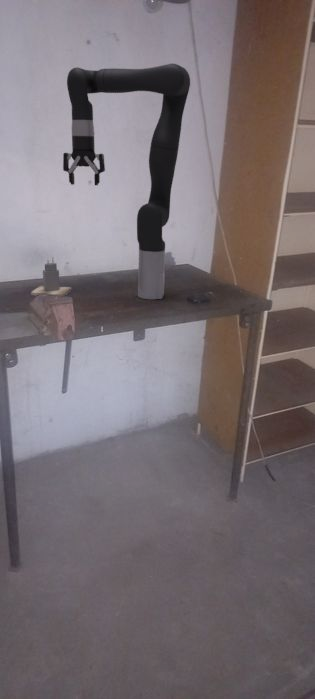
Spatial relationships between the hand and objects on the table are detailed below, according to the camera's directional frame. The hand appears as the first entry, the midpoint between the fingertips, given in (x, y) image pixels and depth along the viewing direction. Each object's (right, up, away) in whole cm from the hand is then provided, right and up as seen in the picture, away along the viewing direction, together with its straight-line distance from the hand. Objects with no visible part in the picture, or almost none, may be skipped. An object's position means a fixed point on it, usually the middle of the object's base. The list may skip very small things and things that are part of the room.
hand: (84, 184), depth 182 cm
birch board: (-13, -37, +8) cm, 40 cm away
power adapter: (-13, -36, +8) cm, 39 cm away
